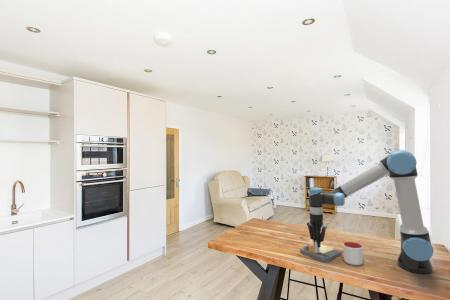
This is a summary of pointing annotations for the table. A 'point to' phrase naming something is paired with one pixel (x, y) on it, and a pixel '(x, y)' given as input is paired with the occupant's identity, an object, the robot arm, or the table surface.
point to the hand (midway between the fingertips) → (317, 252)
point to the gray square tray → (322, 253)
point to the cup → (353, 253)
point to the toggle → (312, 249)
